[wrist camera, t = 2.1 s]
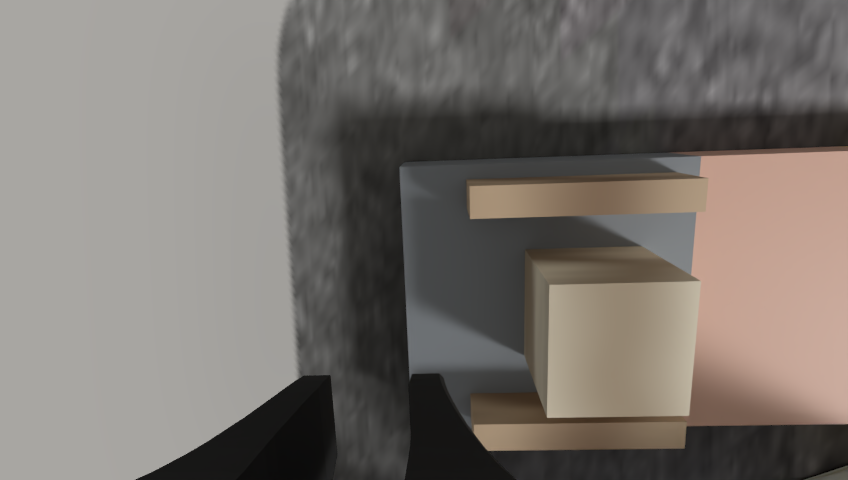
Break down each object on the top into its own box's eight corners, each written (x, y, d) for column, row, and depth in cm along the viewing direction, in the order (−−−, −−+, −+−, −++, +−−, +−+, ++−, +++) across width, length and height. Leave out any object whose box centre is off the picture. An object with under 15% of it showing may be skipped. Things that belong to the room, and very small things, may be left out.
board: (415, 395, 21) (411, 429, 19) (404, 162, 19) (399, 167, 17) (958, 386, 20) (1028, 421, 18) (1012, 139, 18) (1100, 142, 16)
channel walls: (470, 417, 19) (474, 450, 17) (466, 179, 17) (469, 186, 15) (658, 414, 18) (684, 448, 16) (677, 172, 16) (708, 178, 15)
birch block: (524, 355, 18) (546, 417, 14) (525, 249, 17) (549, 284, 13) (635, 353, 18) (689, 415, 14) (641, 246, 17) (701, 281, 13)
